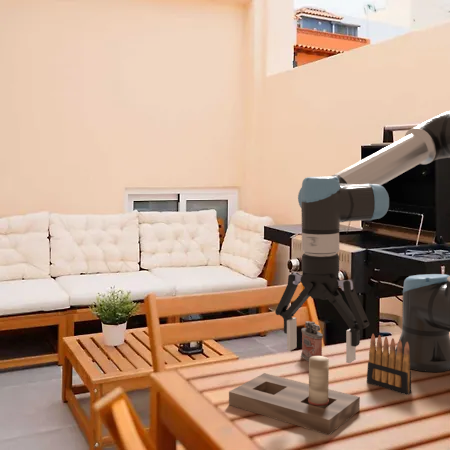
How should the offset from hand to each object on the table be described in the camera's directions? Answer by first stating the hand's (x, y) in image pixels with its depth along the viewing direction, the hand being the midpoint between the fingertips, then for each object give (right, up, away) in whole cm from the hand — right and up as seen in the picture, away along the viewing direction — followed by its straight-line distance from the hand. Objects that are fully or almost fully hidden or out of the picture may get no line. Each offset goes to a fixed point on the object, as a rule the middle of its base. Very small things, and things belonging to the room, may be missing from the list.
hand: (320, 354), depth 124 cm
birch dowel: (0, -13, +1) cm, 13 cm away
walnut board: (-5, -12, +5) cm, 14 cm away
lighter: (+3, -9, +36) cm, 37 cm away
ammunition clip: (+18, -11, +16) cm, 27 cm away
